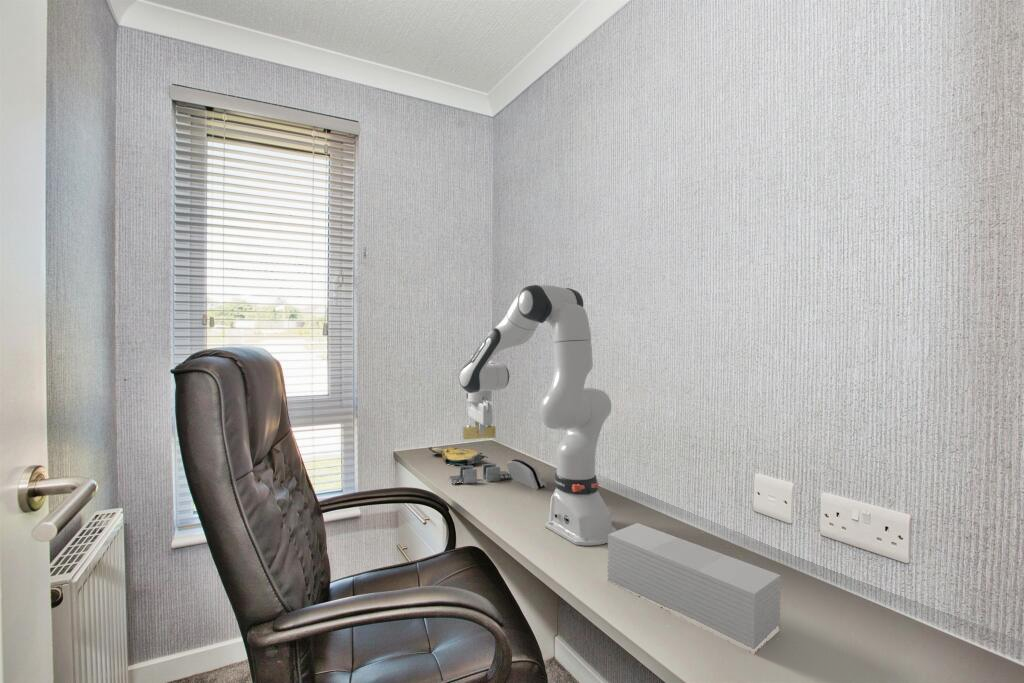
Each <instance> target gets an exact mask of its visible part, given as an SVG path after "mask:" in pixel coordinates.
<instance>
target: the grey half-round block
mask: <svg viewBox="0 0 1024 683" xmlns="http://www.w3.org/2000/svg"><path fill="white" fill-rule="evenodd" d="M506 467H507V472H508V473H509V479H511V480H514V481H515V482H518V483H520V484H523V485H525V486H527V487H528V488H531V489H533V490H536V491H537V490H538V489H539V487H541V488H542V487H544V488H547V484H546V482H544V481H543V480H542V478H541V475H540V473H539V469H538V467H537V466H535V465H534V464H533V463H532V462H529V461H528V460H526V459H524V458H519V457H517V458H513V459H511V460H510V461H508V462H507V463H506Z"/></svg>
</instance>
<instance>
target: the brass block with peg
mask: <svg viewBox="0 0 1024 683" xmlns="http://www.w3.org/2000/svg"><path fill="white" fill-rule="evenodd" d="M478 429H479V427H475V426H471V425H469V424H468V425H467V427H466V426H465V427H464V426H463V427H462V439H463V440H473V439H474V440H477V439H478V440H479V439H492V438H496V430H497V428H496V426H495V425H487V426H485V428H484V434H483V435H480V434H478Z"/></svg>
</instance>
